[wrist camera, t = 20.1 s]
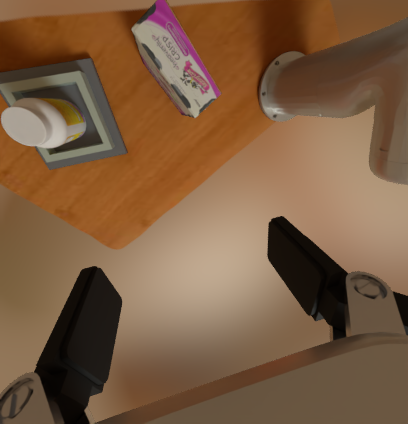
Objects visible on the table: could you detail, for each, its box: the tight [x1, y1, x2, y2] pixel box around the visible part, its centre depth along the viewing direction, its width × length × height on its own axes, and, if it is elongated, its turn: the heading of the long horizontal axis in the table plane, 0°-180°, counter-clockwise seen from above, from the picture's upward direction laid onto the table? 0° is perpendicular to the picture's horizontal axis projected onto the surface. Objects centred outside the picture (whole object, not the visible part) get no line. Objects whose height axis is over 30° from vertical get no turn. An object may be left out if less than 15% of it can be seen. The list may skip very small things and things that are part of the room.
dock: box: [0, 58, 128, 170], centre depth 33 cm, size 16×16×4 cm
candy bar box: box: [131, 0, 221, 118], centre depth 28 cm, size 11×5×16 cm, turn 38°
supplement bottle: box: [1, 98, 86, 148], centre depth 29 cm, size 7×7×13 cm
